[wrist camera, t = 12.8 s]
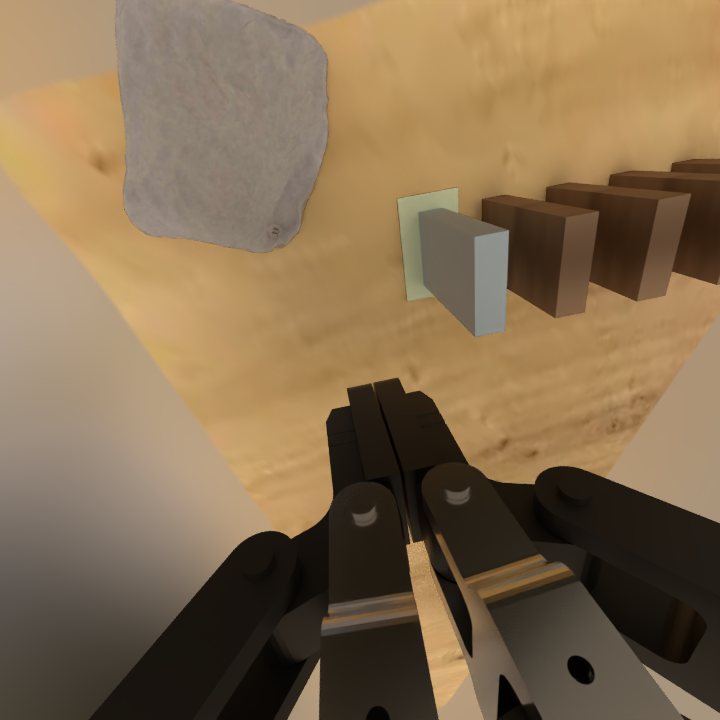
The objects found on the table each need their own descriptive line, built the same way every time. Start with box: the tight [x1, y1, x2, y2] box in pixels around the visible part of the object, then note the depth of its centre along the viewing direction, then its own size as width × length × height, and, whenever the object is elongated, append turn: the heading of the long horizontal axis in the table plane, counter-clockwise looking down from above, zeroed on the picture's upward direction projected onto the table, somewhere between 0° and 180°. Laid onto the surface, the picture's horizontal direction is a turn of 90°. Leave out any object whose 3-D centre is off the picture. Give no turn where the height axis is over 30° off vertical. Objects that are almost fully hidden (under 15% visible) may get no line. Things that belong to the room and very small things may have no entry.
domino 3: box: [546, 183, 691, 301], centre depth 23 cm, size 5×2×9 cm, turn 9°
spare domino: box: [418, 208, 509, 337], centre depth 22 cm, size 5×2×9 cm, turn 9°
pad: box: [397, 187, 459, 302], centre depth 26 cm, size 7×4×1 cm, turn 9°
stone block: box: [115, 0, 328, 253], centre depth 20 cm, size 12×5×10 cm
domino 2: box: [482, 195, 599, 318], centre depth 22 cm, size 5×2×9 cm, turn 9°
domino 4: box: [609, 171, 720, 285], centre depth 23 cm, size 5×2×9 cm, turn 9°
